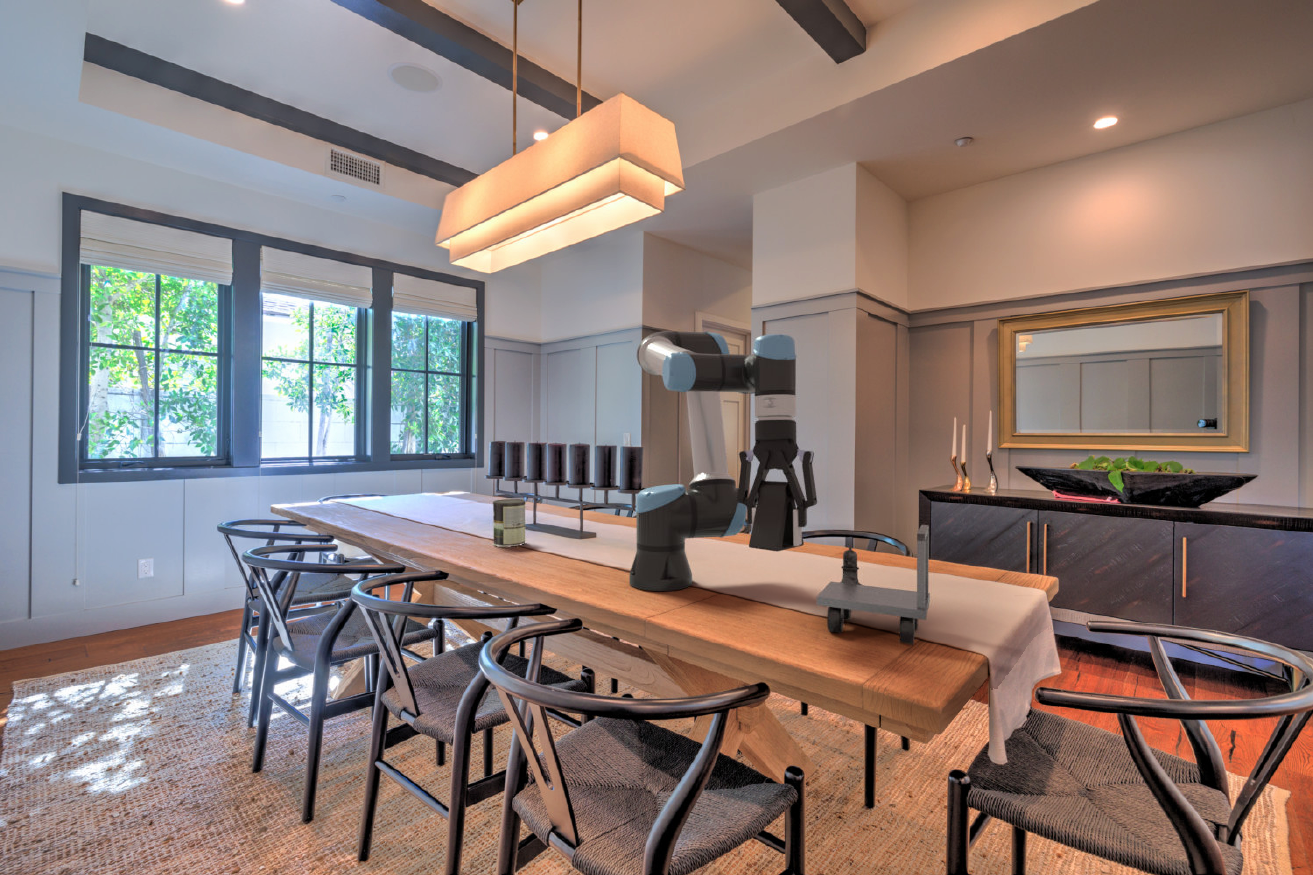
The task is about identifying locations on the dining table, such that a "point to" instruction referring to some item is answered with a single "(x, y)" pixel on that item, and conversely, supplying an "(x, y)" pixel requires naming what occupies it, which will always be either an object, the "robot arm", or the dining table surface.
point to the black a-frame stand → (773, 518)
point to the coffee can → (509, 522)
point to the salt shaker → (850, 567)
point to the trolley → (882, 597)
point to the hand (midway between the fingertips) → (776, 543)
